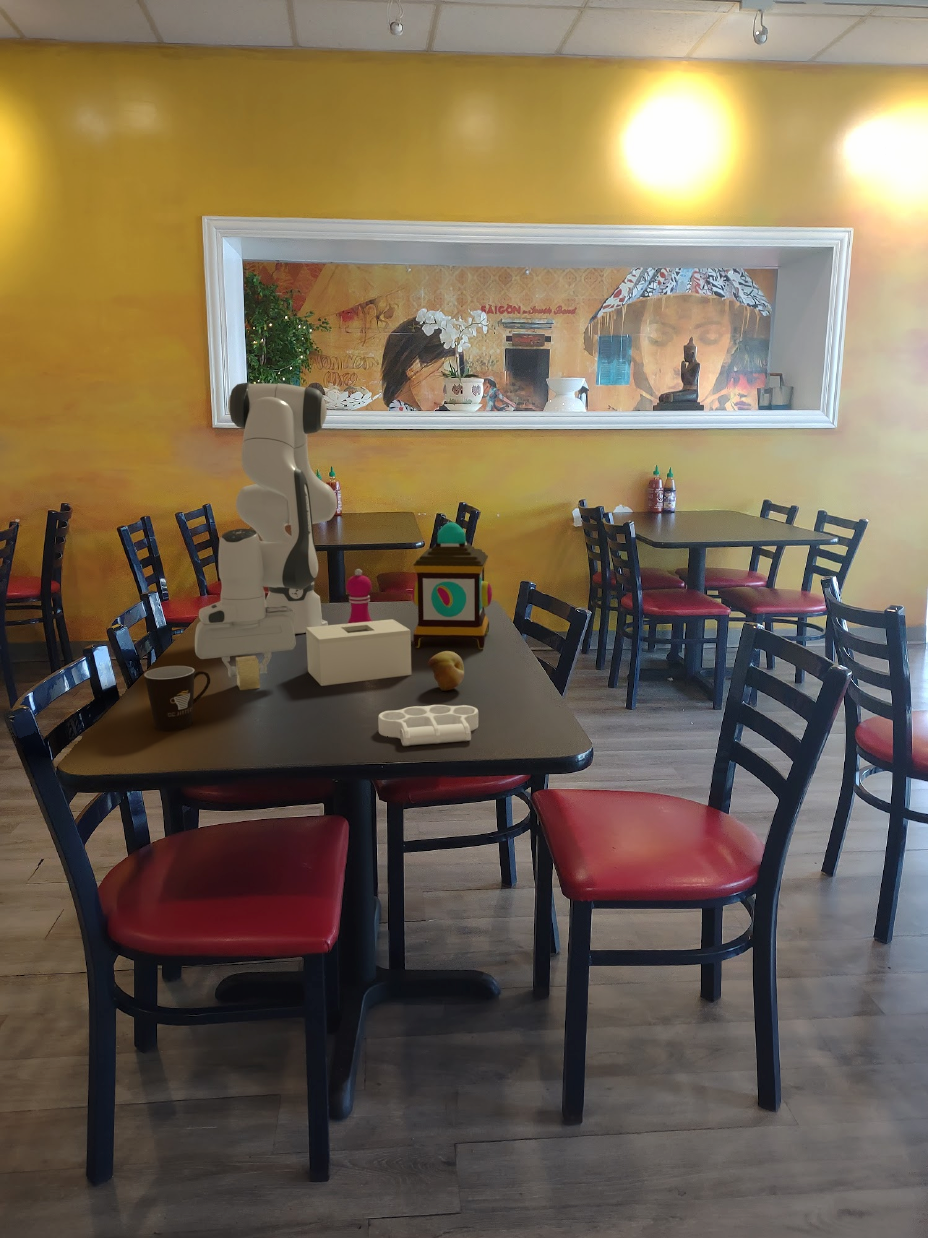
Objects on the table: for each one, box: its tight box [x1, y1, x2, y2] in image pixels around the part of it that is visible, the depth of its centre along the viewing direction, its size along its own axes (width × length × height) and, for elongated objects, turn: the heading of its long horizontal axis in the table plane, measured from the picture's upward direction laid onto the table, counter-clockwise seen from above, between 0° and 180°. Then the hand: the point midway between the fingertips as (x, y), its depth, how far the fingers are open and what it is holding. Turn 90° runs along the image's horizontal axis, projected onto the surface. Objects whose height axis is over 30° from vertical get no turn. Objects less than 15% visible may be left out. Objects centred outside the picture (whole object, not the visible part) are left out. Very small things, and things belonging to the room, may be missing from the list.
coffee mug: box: [143, 665, 211, 732], centre depth 156 cm, size 12×9×10 cm
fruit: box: [427, 650, 465, 691], centre depth 176 cm, size 8×8×8 cm
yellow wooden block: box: [235, 655, 261, 691], centre depth 179 cm, size 4×4×6 cm
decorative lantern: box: [411, 521, 493, 650], centre depth 214 cm, size 20×20×30 cm
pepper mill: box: [345, 568, 373, 624], centre depth 206 cm, size 7×7×20 cm
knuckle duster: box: [377, 704, 479, 747], centre depth 152 cm, size 3×18×15 cm
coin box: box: [305, 618, 412, 687], centre depth 188 cm, size 12×20×10 cm, turn 113°
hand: (247, 674), depth 179 cm, fingers open, 5 cm apart
